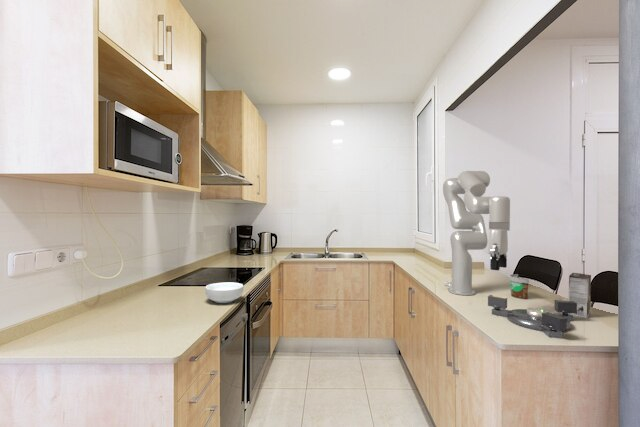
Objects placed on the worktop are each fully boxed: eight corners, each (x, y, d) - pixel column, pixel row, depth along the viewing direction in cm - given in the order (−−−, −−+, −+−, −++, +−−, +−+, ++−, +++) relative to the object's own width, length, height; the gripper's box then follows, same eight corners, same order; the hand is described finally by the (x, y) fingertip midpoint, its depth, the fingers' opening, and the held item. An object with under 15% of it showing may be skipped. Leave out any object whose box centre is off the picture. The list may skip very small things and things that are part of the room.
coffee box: (571, 309, 143) (572, 272, 143) (590, 313, 138) (591, 274, 138) (567, 314, 137) (568, 275, 136) (587, 318, 132) (588, 277, 132)
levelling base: (480, 321, 126) (481, 303, 126) (504, 305, 148) (504, 290, 148) (564, 341, 108) (565, 320, 108) (577, 319, 130) (577, 301, 130)
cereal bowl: (249, 302, 149) (249, 287, 149) (211, 308, 140) (211, 292, 140) (235, 294, 163) (235, 280, 163) (200, 299, 154) (200, 284, 154)
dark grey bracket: (487, 306, 137) (487, 295, 137) (490, 304, 140) (490, 293, 140) (504, 309, 132) (504, 298, 132) (507, 307, 135) (507, 296, 135)
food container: (504, 293, 171) (504, 273, 171) (517, 293, 170) (517, 274, 170) (514, 299, 158) (515, 278, 158) (528, 300, 158) (529, 279, 157)
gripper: (495, 225, 145) (495, 265, 145) (482, 226, 132) (481, 269, 132) (515, 226, 139) (514, 267, 139) (503, 227, 127) (502, 272, 127)
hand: (498, 268), depth 136 cm, fingers open, 9 cm apart
